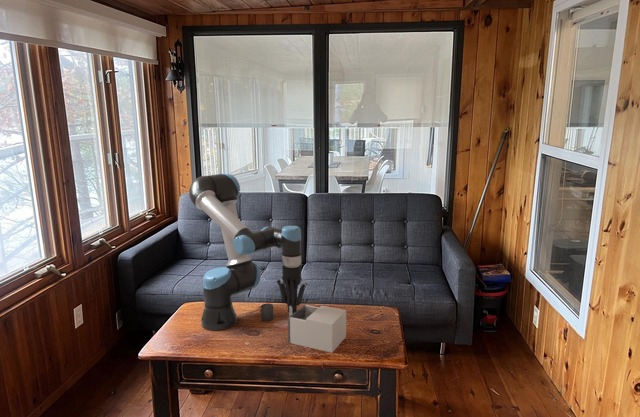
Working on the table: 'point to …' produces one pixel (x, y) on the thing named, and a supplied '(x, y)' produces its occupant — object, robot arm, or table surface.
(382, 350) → the table surface
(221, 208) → the robot arm
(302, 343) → the housing
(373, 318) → the table surface
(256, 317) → the table surface
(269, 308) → the stand
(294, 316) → the grey plate and rod
